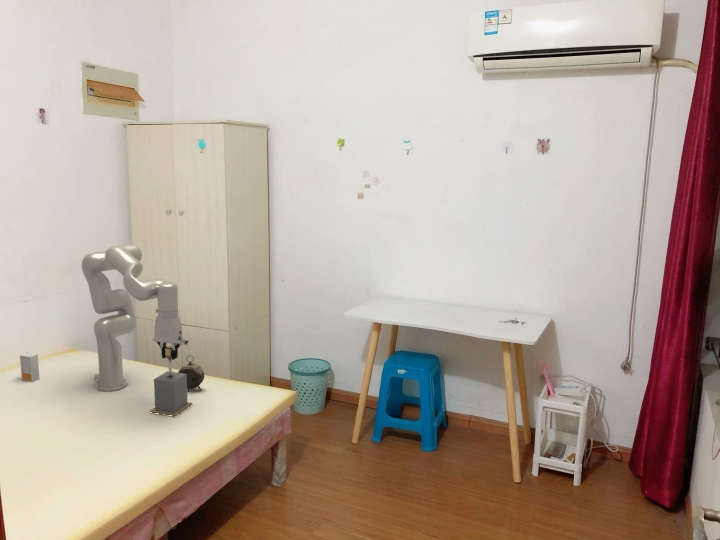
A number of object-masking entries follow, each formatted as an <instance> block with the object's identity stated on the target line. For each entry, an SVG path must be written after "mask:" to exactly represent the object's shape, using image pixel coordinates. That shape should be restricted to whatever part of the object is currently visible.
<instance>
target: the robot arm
mask: <svg viewBox="0 0 720 540" xmlns="http://www.w3.org/2000/svg"><path fill="white" fill-rule="evenodd" d="M142 258H143V252H142V250H141V248H140V247H139V246H138V245H137V244H134V243H127V244H118V245H113V246H110V247H108V248H107V249H106V250H102V251H95V252H91V253H88V254H86V255H85V256H84V257H83V259H82V260H81V271H82V273H83V275H84V278H85V280H86V282H87V285H88V290H89V294H90V298H91V303H92V306H93V310H94V312H95V313H96V314H98V315H106V314H110V313H115V312H117V314H113V315H112V314H111V315H107V316H104V317H101V318H99V319H97V320H96V321H95V322H94V325H93V331H94V336H95V338H96V345H97V357H98V359H97V361H98V373H99V374H98V373H95V374H94V376H93V379H92V380H93V381H97V383H96V385H95V386H96V387H95V388H96V390H99V391H100V392H101V391H102V392H113V391H117V390H121V389H123V388H125V387H127V385H128V381H127V379H124V368H123V367H124V366H123V351H122V344H121V343H120V341H118V340H117V338H118V337H121V336H124V335H127V334H128V335H129V334H131V333H133V332H134V331H135V330H136V327H137V321H136V316H135V311H134V306H133V301H132V299H131V298H132V297H133V298H134V299H135V300H137V301H139V302H145V301H149V300H154V299H157V309H155V313H156V314H157V316H156V317H155V321H154V322H155V323H154V338H153V342H155V343H156V344H157V345H158V346H159V349H160V350H161V358H162V359H166V358H165V347H167V344H171V346H172V349H173V350H171V360H172V361H174V360H176V359H178V357H179V354H178V353H179V350H178V349H179V348H180V347H181V346H183V345H184V344H185V343H186V341H185V339H184V337H183V328H182V327H183V326H182V321H181V317H180V316H179V299H178V298H179V294H178V292H179V290H178V285H177V283H176V282H174V281H168V280H166V279H164V278H155V279H154V278H153V279H149V280H144V281H139V280H138V279H137V278H138V277H139V276H140V275H141V274H142V272H143V269H144V267H143V263H142V262H141V260H142ZM113 270H114V271H115V270H116V271H117V272H118V273H120V275H122V276H123V279H122V280H123V283H122V284H123V287H124V288H125V289H123V288H117V289H112V287H111V282H110V279H109V277H107V275H106V274H104V273H103V272H107V271H113ZM131 296H132V297H131Z"/></svg>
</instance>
